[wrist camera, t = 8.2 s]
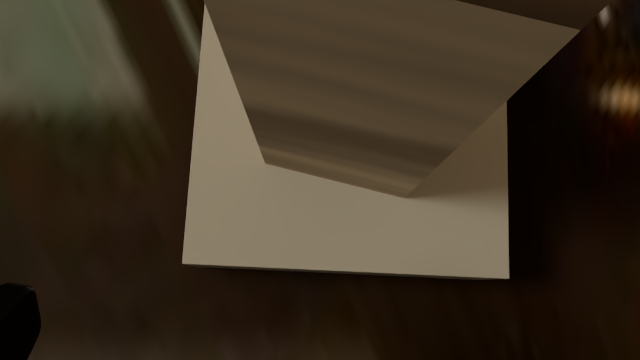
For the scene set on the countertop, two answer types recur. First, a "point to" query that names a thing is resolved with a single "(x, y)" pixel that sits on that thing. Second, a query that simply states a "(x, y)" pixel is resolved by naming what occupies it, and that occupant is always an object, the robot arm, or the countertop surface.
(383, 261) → the base slab
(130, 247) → the countertop surface
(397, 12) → the oak post
